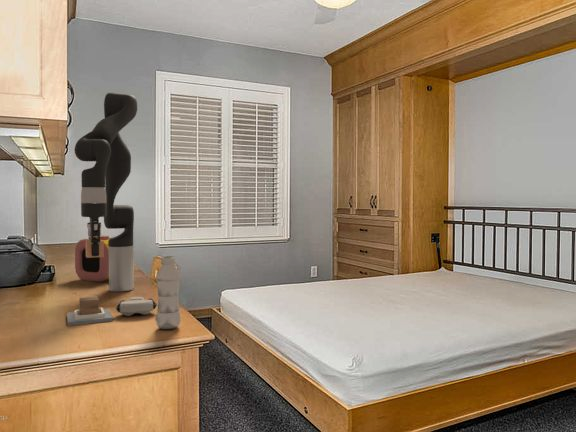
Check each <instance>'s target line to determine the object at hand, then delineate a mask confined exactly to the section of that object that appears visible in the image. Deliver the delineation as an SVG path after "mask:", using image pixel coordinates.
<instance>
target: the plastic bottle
mask: <svg viewBox="0 0 576 432" xmlns="http://www.w3.org/2000/svg"><path fill="white" fill-rule="evenodd" d="M160 264H161V266H160V268H159V270H158V271H157V272H156V275H155V278H156V279H155V280H156V286H157V287H156V288H157V299H158V300H157V303H158V304H157V309H156V310H157V312H156V315H155V322H156V323H155V324H156V326H157V328H158V329H161V330H171V329H172V330H173V329H176V328H178V327H179V325H180V324H181V319H182V318H181V311H180V304H179V294H180V293H179V292H180V291H179V289H180V283H181V282H180V281H181V272H180V270H179V269H178V268H177V267H176V266H175V264H176V257H175V256H174V255H165V256H161V257H160Z"/></svg>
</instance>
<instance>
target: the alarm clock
mask: <svg viewBox="0 0 576 432" xmlns="http://www.w3.org/2000/svg"><path fill="white" fill-rule="evenodd" d="M110 238H111V237H110V236H109V235H102V234H101V236H100V240H103V241H104V257H92V258H87V257H86V241H89V238H83V239H80V240H78V242H77V243H76V245H75V247H74V248H75V249H74V269H75V273H76V275H77V277H78V278H79V279H80V280H83V281H86V282H97V283H100V282H104V281H107V280H108V281H109V252H108V241H109V239H110Z"/></svg>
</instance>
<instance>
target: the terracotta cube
mask: <svg viewBox="0 0 576 432" xmlns="http://www.w3.org/2000/svg"><path fill="white" fill-rule="evenodd" d="M86 257H87V258H92V257H104V241H103V240H100V244H99V256H92V255H91V240H90V241H86Z"/></svg>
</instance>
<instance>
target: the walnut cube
mask: <svg viewBox="0 0 576 432" xmlns="http://www.w3.org/2000/svg"><path fill="white" fill-rule="evenodd" d="M99 302H100V300H99V297H98V296H97V295H96V296H93V295H92V296H85V297H79V310H80V315H88V314H98V313H99V308H100V305H99V304H100V303H99Z"/></svg>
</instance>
